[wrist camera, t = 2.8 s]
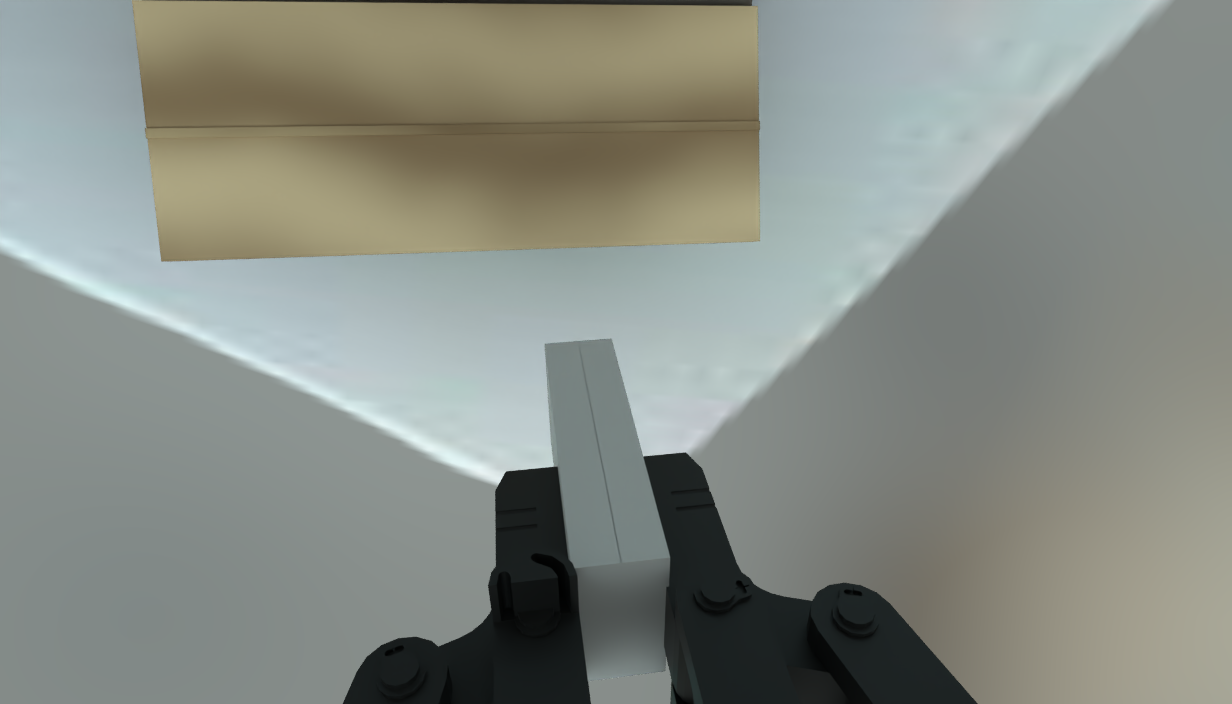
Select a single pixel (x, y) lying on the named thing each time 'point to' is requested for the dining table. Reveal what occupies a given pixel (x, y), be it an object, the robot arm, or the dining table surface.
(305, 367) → the dining table surface
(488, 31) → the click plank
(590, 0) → the laid floor
